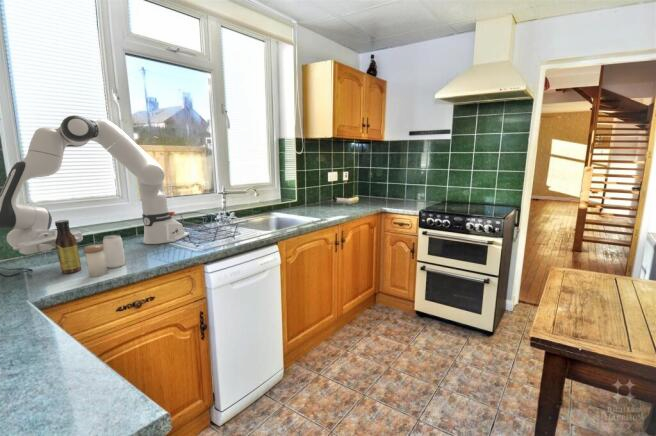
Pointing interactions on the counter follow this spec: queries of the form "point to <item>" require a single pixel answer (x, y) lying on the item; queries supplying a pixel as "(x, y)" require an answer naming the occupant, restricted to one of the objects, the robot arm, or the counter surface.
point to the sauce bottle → (67, 248)
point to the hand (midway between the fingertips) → (65, 243)
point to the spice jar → (95, 260)
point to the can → (113, 251)
